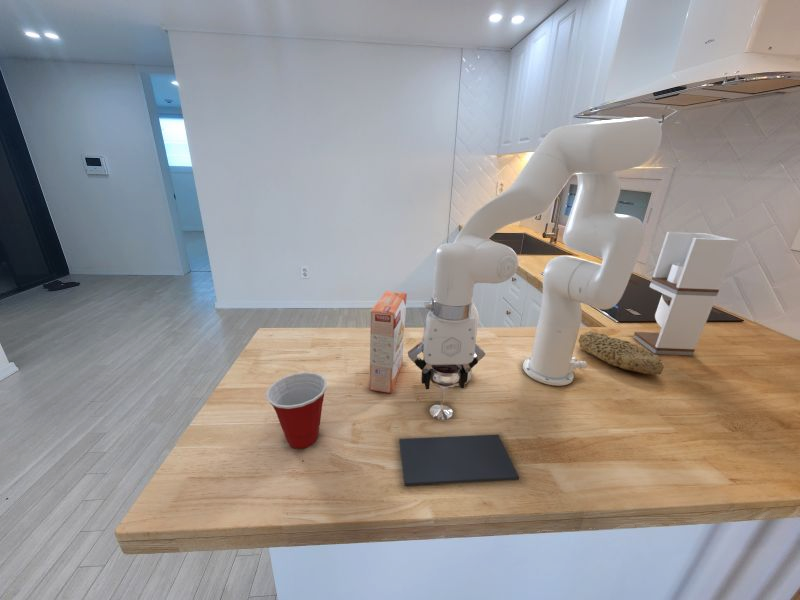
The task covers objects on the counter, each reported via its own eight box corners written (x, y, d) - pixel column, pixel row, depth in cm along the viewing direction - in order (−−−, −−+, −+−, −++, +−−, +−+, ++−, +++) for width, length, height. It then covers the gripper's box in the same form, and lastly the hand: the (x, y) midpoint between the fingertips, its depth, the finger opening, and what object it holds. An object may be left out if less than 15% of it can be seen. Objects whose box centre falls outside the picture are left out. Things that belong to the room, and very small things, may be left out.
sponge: (571, 353, 103) (632, 377, 84) (577, 328, 102) (640, 347, 83) (604, 355, 107) (669, 379, 88) (610, 332, 106) (677, 351, 87)
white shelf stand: (667, 338, 111) (706, 233, 99) (692, 355, 102) (739, 240, 89) (633, 337, 112) (667, 231, 99) (655, 353, 102) (696, 238, 89)
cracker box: (393, 394, 79) (395, 313, 71) (368, 390, 80) (368, 310, 72) (404, 363, 92) (407, 291, 84) (383, 360, 93) (384, 289, 85)
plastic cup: (296, 412, 72) (291, 364, 68) (340, 427, 69) (338, 377, 64) (259, 448, 63) (251, 395, 58) (308, 467, 59) (303, 412, 55)
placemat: (497, 436, 68) (498, 434, 67) (518, 479, 58) (519, 476, 58) (399, 441, 66) (399, 438, 65) (404, 486, 56) (404, 483, 56)
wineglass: (462, 412, 74) (468, 365, 70) (443, 427, 70) (448, 378, 65) (439, 397, 78) (443, 353, 74) (419, 410, 74) (422, 364, 70)
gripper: (408, 316, 61) (405, 397, 67) (501, 315, 62) (489, 395, 69) (404, 301, 68) (401, 376, 74) (488, 300, 69) (477, 374, 76)
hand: (443, 384), depth 71 cm, fingers closed on wineglass, 6 cm apart
